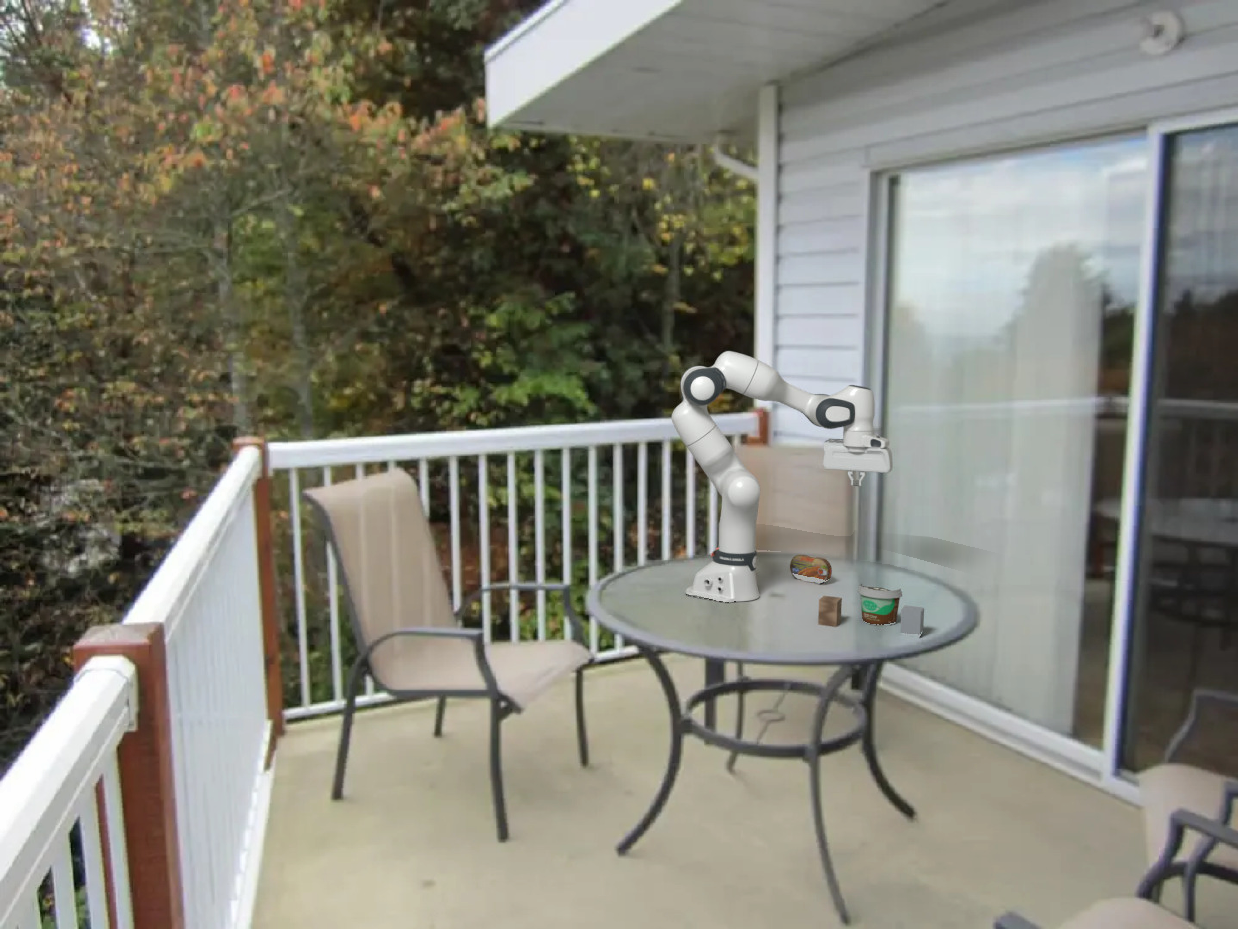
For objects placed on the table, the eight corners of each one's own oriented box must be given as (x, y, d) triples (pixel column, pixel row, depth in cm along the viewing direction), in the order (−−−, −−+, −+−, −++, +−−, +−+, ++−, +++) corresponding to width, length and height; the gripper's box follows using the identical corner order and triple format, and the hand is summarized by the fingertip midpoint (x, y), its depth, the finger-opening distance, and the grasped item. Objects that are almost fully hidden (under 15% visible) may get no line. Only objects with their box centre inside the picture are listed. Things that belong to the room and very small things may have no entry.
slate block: (900, 635, 259) (901, 609, 258) (903, 630, 263) (904, 605, 263) (919, 638, 257) (920, 612, 256) (923, 633, 261) (924, 607, 260)
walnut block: (818, 624, 269) (819, 599, 268) (823, 620, 273) (823, 595, 272) (836, 627, 267) (837, 602, 266) (840, 622, 271) (841, 597, 270)
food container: (849, 622, 271) (850, 586, 270) (858, 617, 276) (859, 582, 275) (892, 629, 264) (894, 593, 263) (901, 624, 269) (902, 589, 268)
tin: (789, 578, 322) (789, 553, 321) (794, 576, 324) (795, 551, 323) (827, 586, 311) (827, 560, 310) (833, 585, 313) (833, 559, 312)
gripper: (820, 439, 294) (819, 484, 296) (890, 442, 285) (888, 489, 286) (826, 437, 299) (825, 482, 301) (894, 440, 290) (893, 487, 292)
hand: (856, 486), depth 294 cm, fingers closed
